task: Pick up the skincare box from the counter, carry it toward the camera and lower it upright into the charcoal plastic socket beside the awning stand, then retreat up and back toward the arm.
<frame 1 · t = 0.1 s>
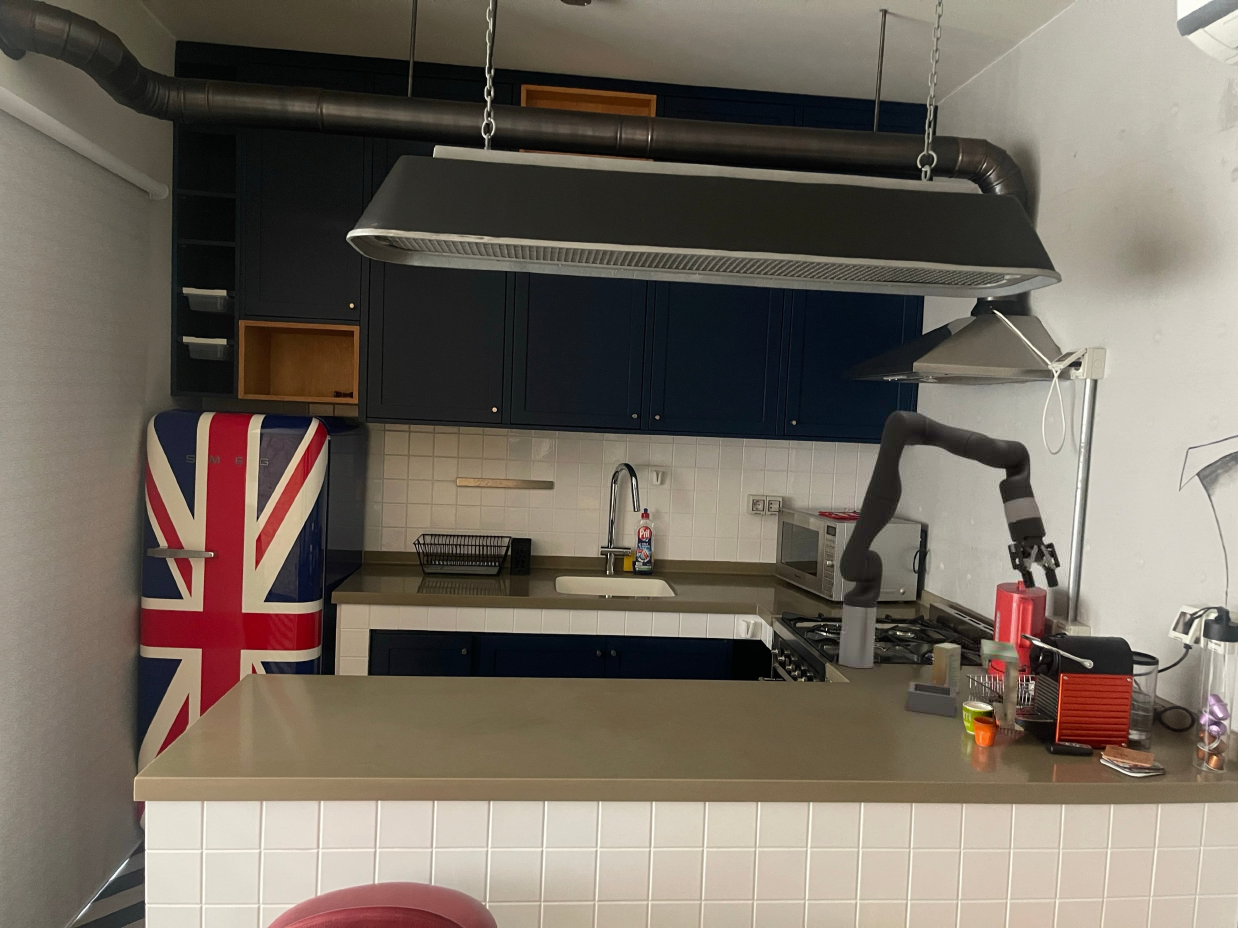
hand: (1042, 587, 200), 31 cm above the countertop, tool tilted 20°, fingers open, 8 cm apart
socket: (931, 707, 207), on the countertop
skincare box: (944, 692, 224), on the countertop
awning stand: (1008, 718, 202), on the countertop
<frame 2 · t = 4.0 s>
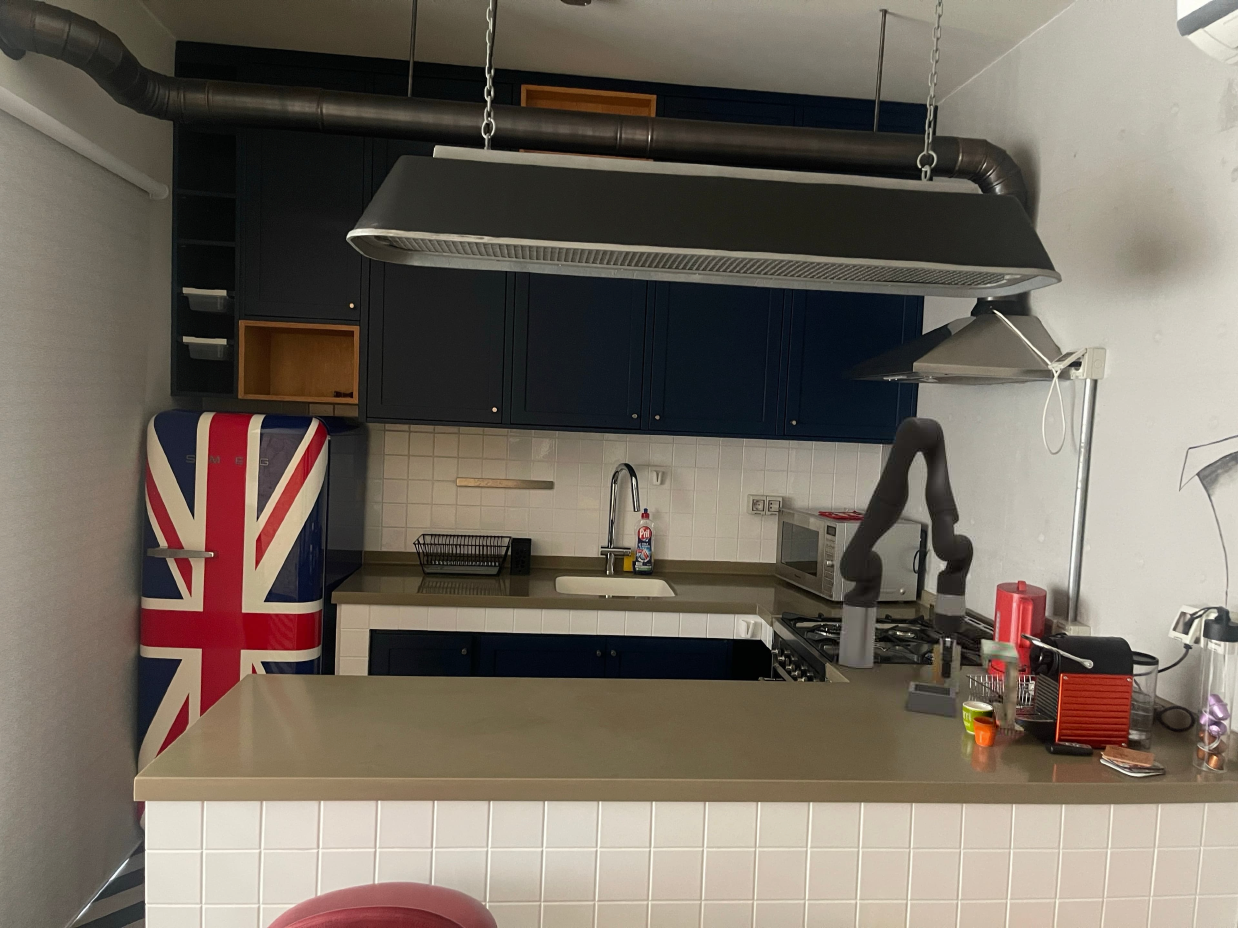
hand: (945, 674, 224), 5 cm above the countertop, tool pointing down, fingers closed on skincare box, 7 cm apart
skincare box: (944, 692, 224), on the countertop, touching gripper
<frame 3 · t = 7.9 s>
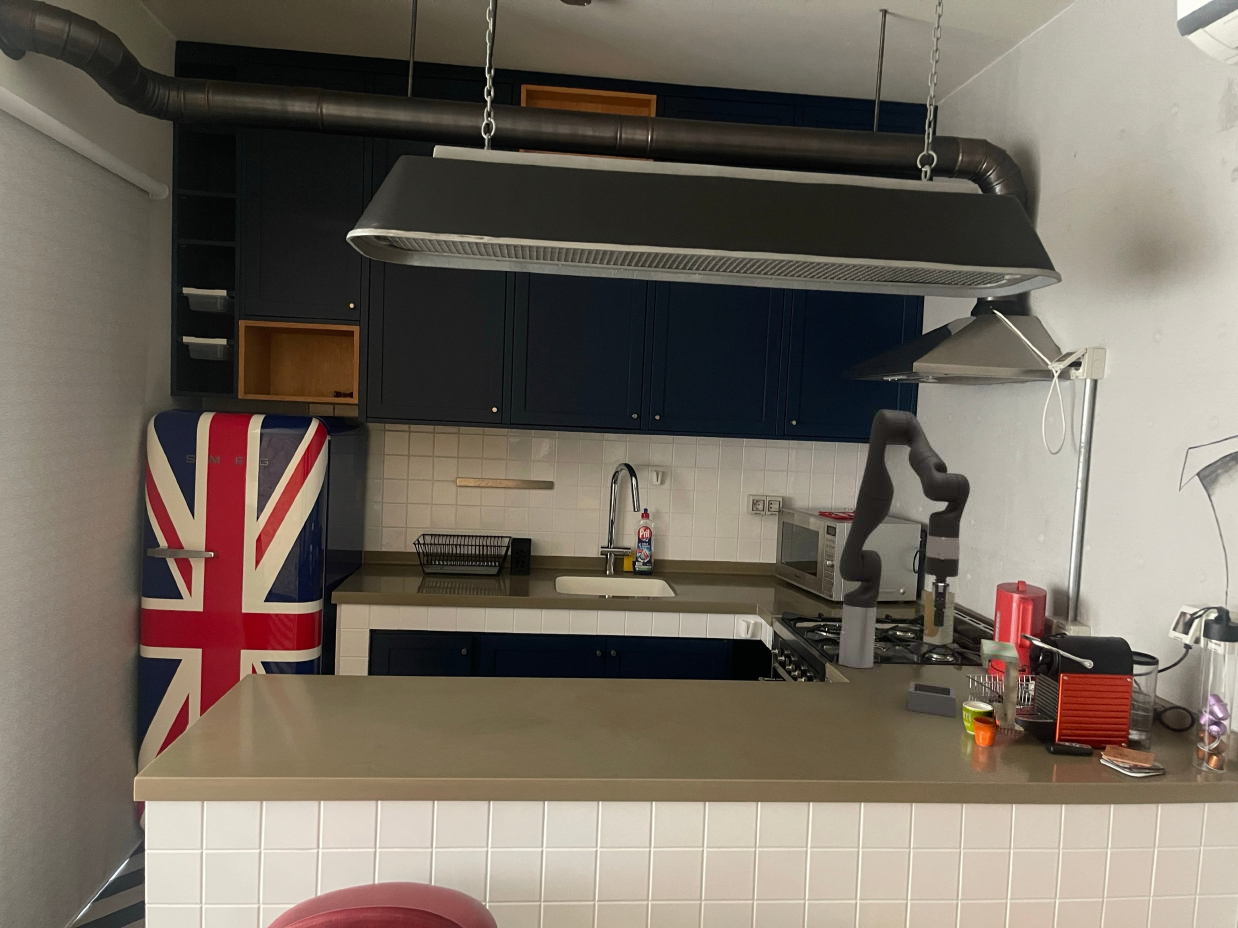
hand: (938, 623, 208), 20 cm above the countertop, tool pointing down, fingers closed on skincare box, 7 cm apart
skincare box: (937, 643, 208), point 15 cm above the countertop, touching gripper
when the fingers open (6 cm above the countertop, at t = 12.0 s): skincare box drops 2 cm, resting in socket.
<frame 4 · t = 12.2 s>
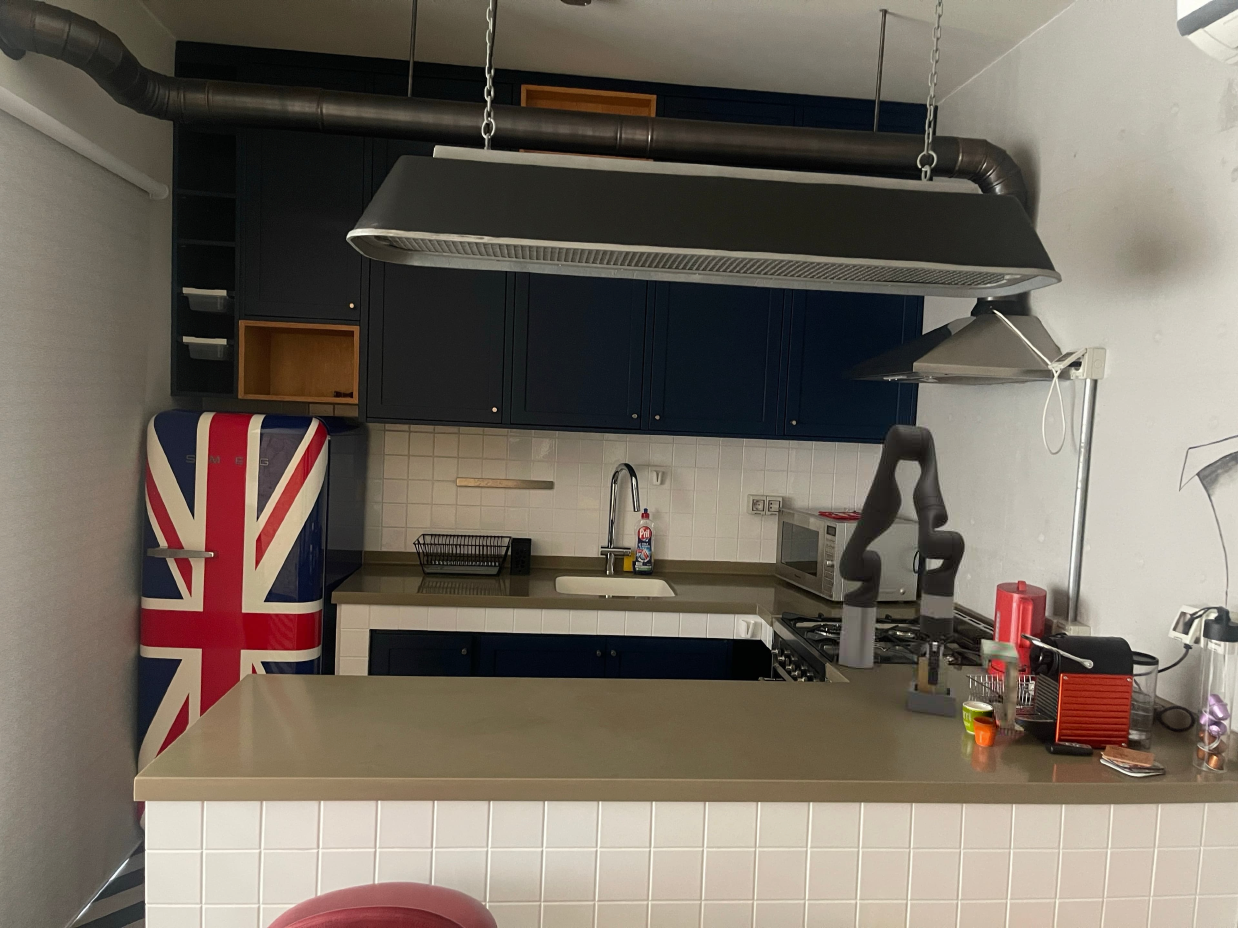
hand: (932, 680, 207), 7 cm above the countertop, tool pointing down, fingers open, 8 cm apart
skincare box: (930, 709, 207), resting in socket, touching gripper
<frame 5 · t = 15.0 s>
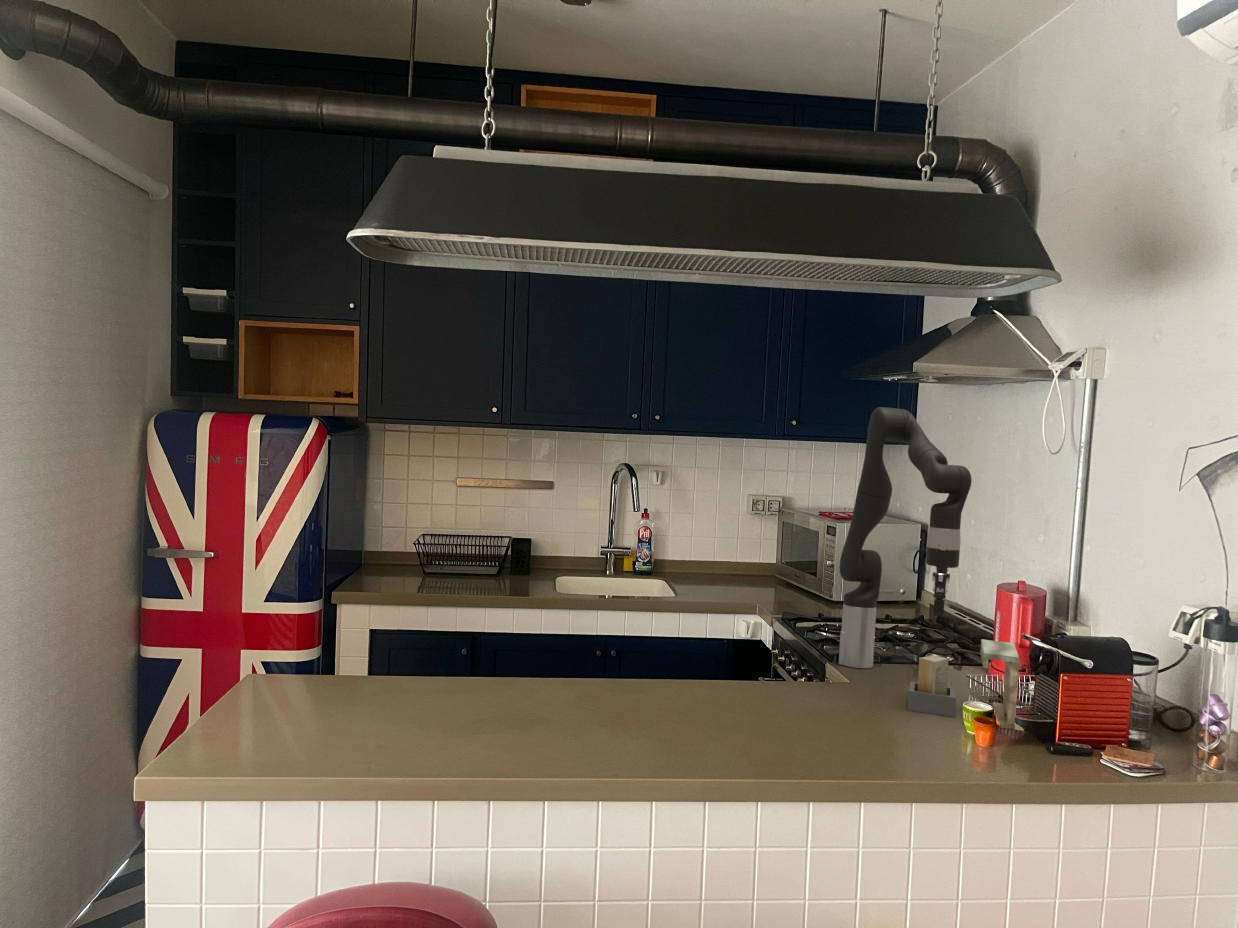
hand: (938, 612, 210), 22 cm above the countertop, tool pointing down, fingers open, 8 cm apart
skincare box: (930, 709, 207), resting in socket
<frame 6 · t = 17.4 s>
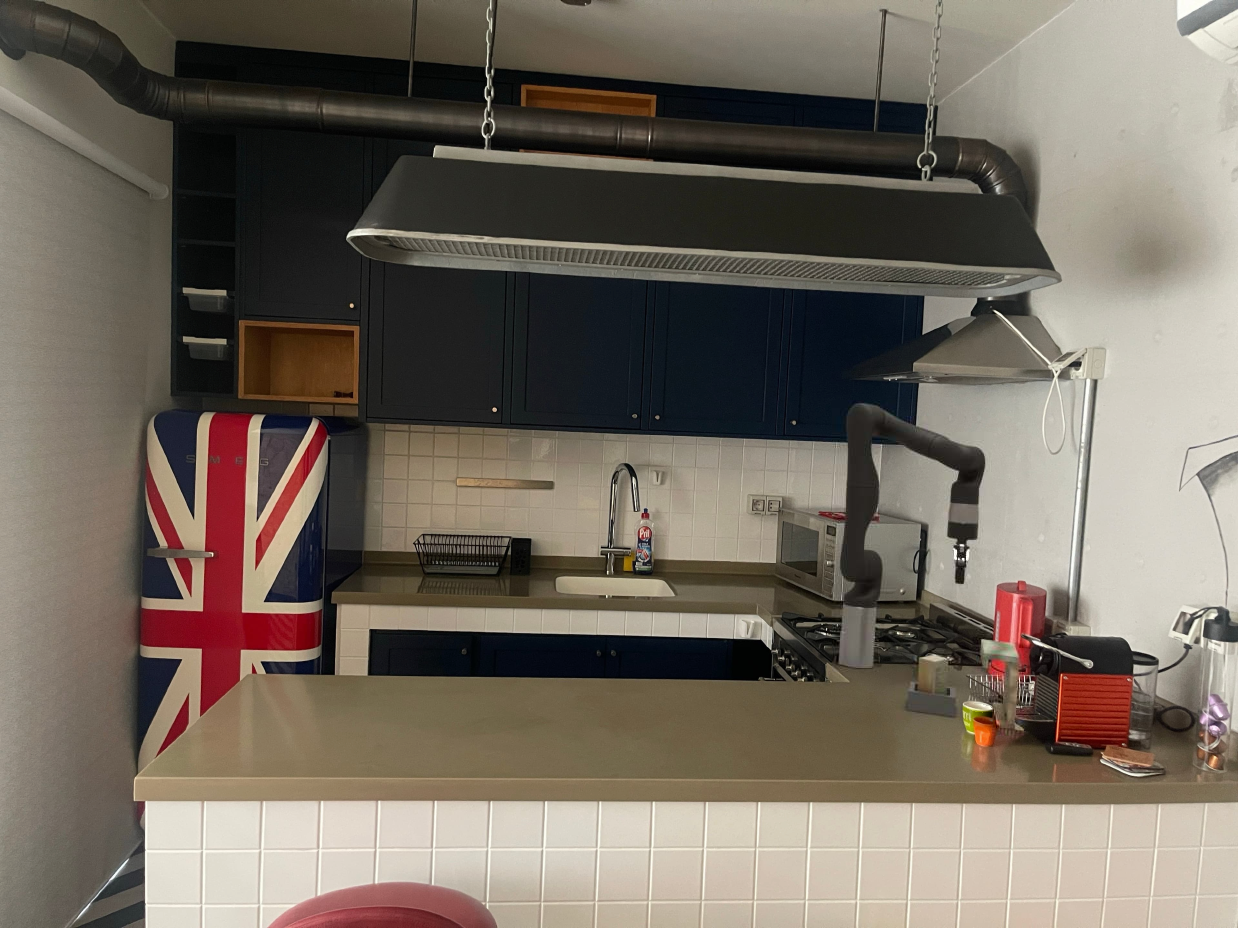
hand: (959, 581, 228), 28 cm above the countertop, tool pointing down, fingers open, 8 cm apart
nothing on the countertop moved.
at the end: skincare box 0.3 cm off-centre on the socket, point 0.0 cm above the socket's base; skincare box tilted 0°; the gripper is holding nothing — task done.
